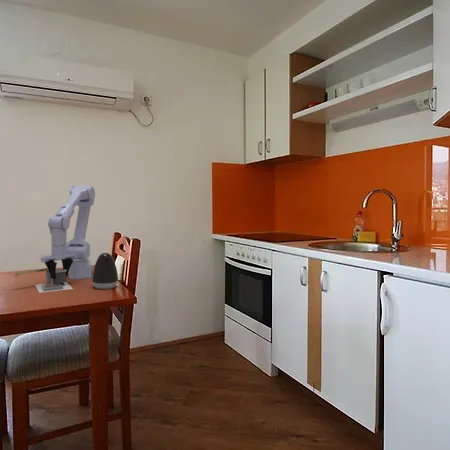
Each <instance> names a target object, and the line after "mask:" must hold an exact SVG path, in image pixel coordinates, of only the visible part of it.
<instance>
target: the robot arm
mask: <svg viewBox="0 0 450 450" xmlns="http://www.w3.org/2000/svg"><path fill="white" fill-rule="evenodd" d="M95 198H96V192H95V188H94V187H93V185H89V186H88V185H72V186H71V187H70V189H69V197H68V200H67V201H66V203H65V204H62V205H61V206H60V208H59V209H58V210H57V212H56V214H55V215H54V216H51V217H49V219H48V223H47V225H48V229H49V234H51V242H50V243H51V255H47V256H41V257H40V262H41V263H44V265H45V266H46V268H48V270H49V273H50V276H51V280H52V279H55V277H56V270H57V264H58V263H57V261H61V265H62V269H65V270H66V278H67V277H68V278H69V279H70V280H81V279H89V278H92V261H91V260H90V259H89V258H90V255H91V250H90V249H91V246H90V243H89V242H88V241H86V235H87V229H88V224H89V219H90V212H91V207H92V206H93V205H94V202H95ZM77 206H78V211H77V215H76V216H77V217H76V222H75V228H74V233H73V238H72V239H71V240H69V241H68V242H67V239H68V238H67V235H68V234H67V232H68V231H67V230H68V229H69V227H70V223H71V218H72V217H73V215H74V213H75V208H76V207H77Z"/></svg>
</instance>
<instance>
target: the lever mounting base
mask: <svg viewBox="0 0 450 450" xmlns="http://www.w3.org/2000/svg"><path fill="white" fill-rule="evenodd" d="M64 284H65V286H62V285H61V284H53V282H52V278H51V276H50V273H49V270H47V271H45V283H40V284H35V287H36V289H37V291H38V293H39V294H40V293H48V292H57V291H66V290H73V289H74V288H73V287H72V286H71V285H70V284H69V282H65V283H64Z"/></svg>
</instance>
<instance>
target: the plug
mask: <svg viewBox="0 0 450 450" xmlns="http://www.w3.org/2000/svg"><path fill="white" fill-rule="evenodd" d="M51 281H52V283H53V284H59V283H65V282H67V281H68V280H67V277H66V270H65V269H63V268H62V269H56V277H55V279H52V278H51ZM67 283H68V282H67Z"/></svg>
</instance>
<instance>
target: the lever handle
mask: <svg viewBox="0 0 450 450" xmlns="http://www.w3.org/2000/svg"><path fill="white" fill-rule="evenodd" d="M47 270H48V268H47V267H43V268H36V269H31V270H23V271H15V272H14V277H15V278H19V275H26V274H31V273H40V272H46V271H47Z"/></svg>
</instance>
